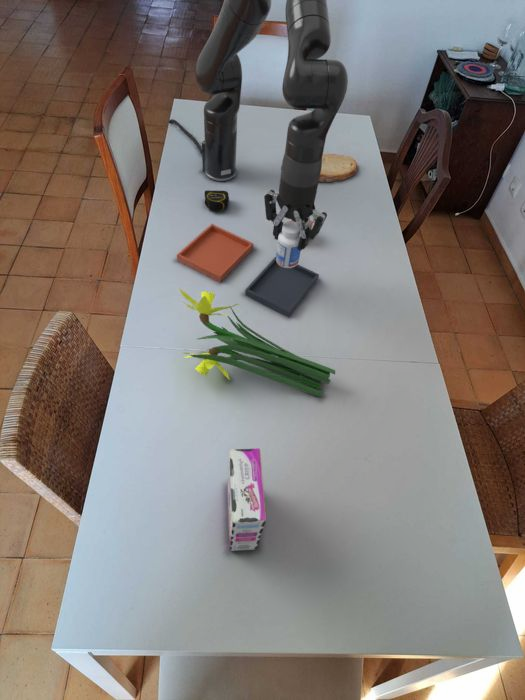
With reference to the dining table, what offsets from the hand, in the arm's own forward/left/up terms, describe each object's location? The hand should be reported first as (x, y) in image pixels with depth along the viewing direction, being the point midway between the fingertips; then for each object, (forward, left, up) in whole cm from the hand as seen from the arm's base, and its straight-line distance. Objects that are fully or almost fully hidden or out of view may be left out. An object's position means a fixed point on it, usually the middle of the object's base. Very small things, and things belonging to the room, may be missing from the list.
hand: (289, 242), depth 101 cm
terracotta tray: (-20, 0, -14) cm, 24 cm away
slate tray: (0, 0, -14) cm, 14 cm away
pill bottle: (0, 0, -6) cm, 6 cm away
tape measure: (-32, +17, -14) cm, 39 cm away
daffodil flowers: (+7, -24, -14) cm, 29 cm away
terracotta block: (-6, +19, -14) cm, 24 cm away
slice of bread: (-15, +53, -14) cm, 57 cm away
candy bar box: (+22, -52, -14) cm, 58 cm away
